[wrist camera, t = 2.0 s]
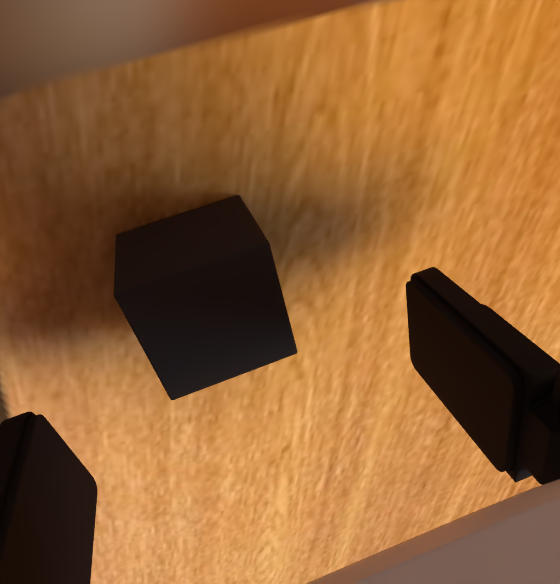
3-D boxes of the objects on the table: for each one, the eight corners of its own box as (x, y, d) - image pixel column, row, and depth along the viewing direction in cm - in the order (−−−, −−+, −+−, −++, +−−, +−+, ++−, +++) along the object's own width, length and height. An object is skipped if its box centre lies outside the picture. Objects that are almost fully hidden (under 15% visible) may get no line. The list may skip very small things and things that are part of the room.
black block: (114, 234, 13) (112, 294, 10) (239, 193, 14) (269, 241, 11) (162, 331, 16) (171, 401, 13) (267, 293, 16) (298, 354, 13)
